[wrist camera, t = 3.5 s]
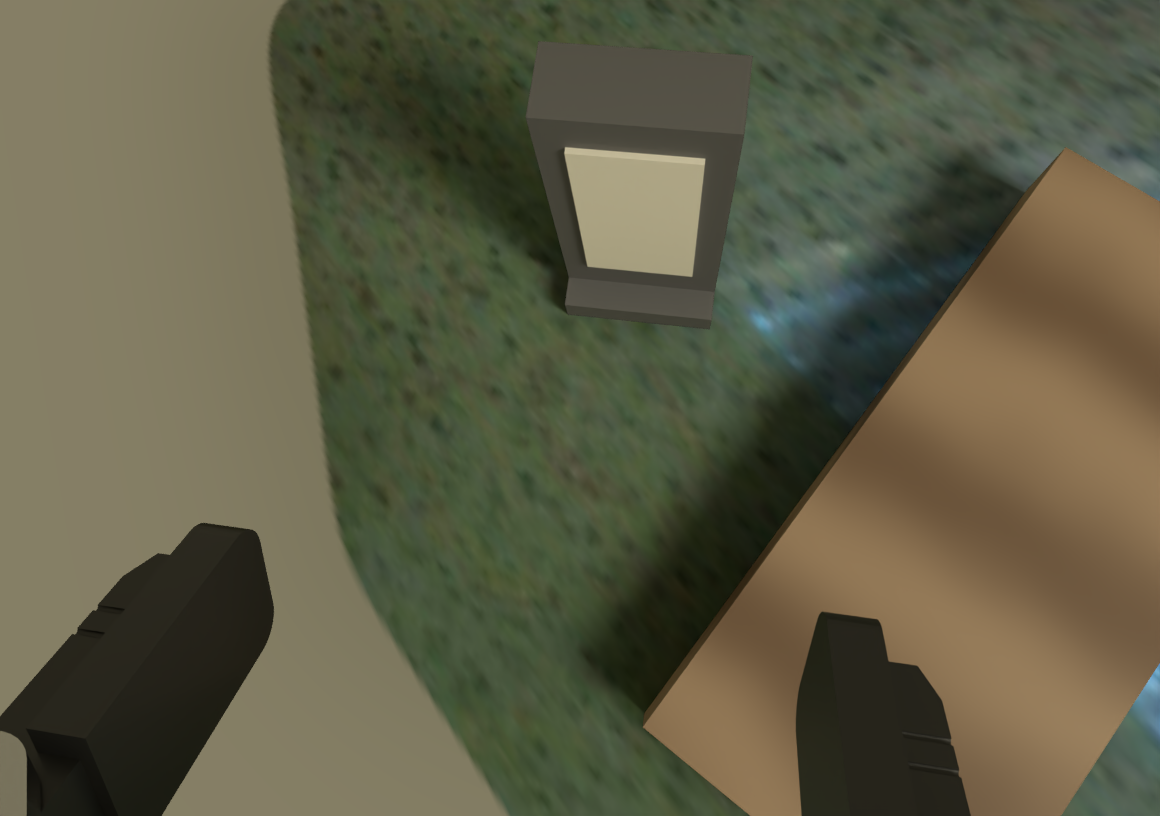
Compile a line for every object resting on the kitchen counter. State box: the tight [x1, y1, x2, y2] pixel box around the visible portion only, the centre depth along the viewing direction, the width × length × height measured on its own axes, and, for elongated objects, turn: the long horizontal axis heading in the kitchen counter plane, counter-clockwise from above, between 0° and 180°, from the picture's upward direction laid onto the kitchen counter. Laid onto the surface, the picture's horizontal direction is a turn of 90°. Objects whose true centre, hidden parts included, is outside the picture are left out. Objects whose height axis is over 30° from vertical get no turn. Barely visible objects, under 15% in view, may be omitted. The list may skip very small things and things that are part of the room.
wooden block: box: [643, 147, 1160, 816], centre depth 26 cm, size 22×10×3 cm, turn 142°
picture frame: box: [526, 41, 753, 329], centre depth 25 cm, size 4×5×11 cm
